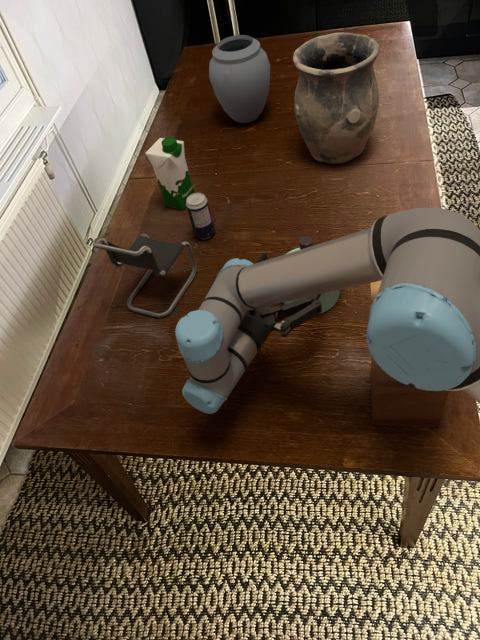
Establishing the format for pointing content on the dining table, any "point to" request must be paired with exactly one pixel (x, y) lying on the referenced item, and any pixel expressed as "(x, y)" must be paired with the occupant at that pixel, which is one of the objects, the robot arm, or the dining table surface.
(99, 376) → the dining table surface
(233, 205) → the dining table surface
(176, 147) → the milk carton
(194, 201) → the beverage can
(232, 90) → the vase
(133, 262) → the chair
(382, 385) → the stand
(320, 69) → the clay pot
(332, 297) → the green round bowl
